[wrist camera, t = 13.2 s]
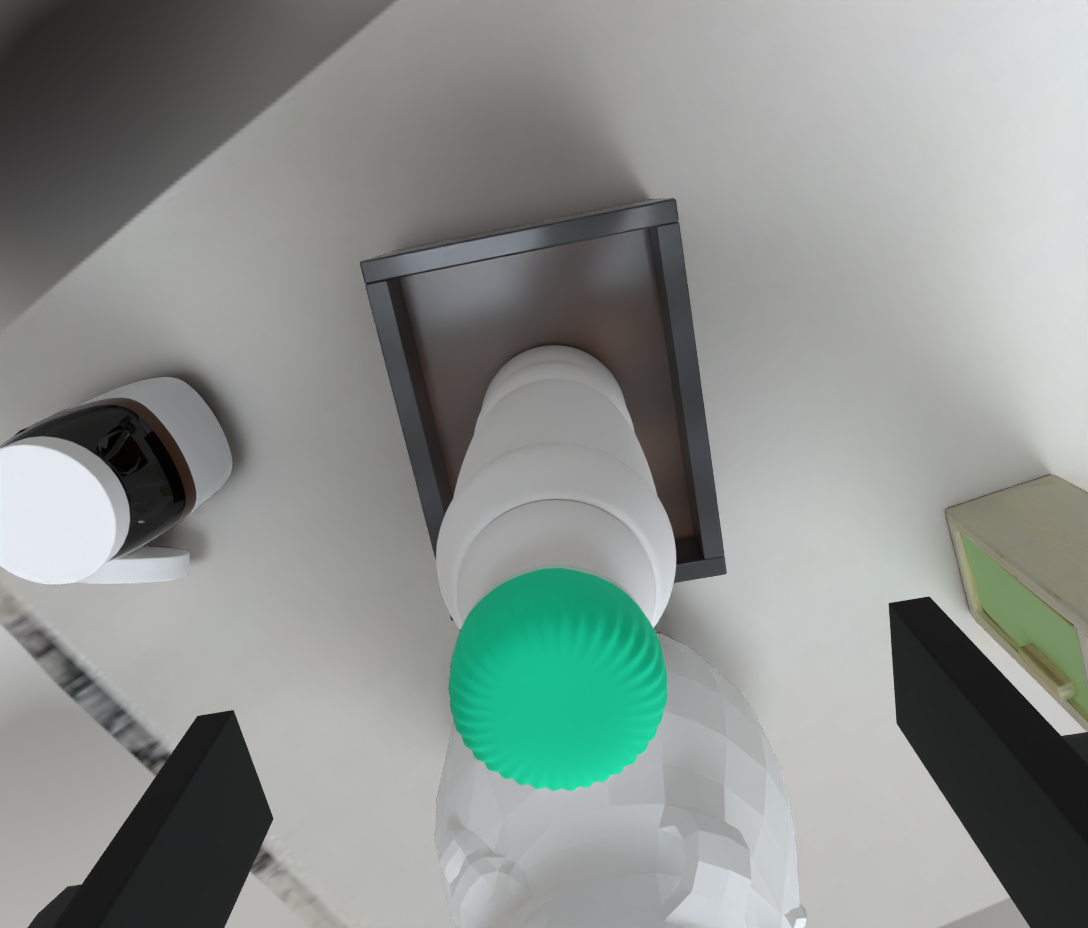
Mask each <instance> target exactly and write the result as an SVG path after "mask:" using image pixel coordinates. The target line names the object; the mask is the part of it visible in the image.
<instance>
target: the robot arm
mask: <svg viewBox="0 0 1088 928" xmlns="http://www.w3.org/2000/svg"><path fill="white" fill-rule="evenodd" d="M889 614H890V630H891V645H892V660H893V675H894V690H895V705H896V720H897V725H898V726H899V728H900V729H901V731H902V732H903V734H904V735H905V737H906V738H907V740H908V741H909V743H910V744H911V746H912V748H913V749H914V751H915V752H916V754H917V755H918V757H919V758H920V760H921V761H922V763H923V764H924V766H925V767H926V769H927V770H928V772H929V774H930V775H931V777H932V778H933V780H934V781H935V783H936V784H937V786H938V787H939V789H940V790H941V792H942V793H943V795H944V796H945V798H946V800H947V801H948V803H949V804H950V806H951V807H952V809H953V810H954V812H955V813H956V815H957V816H958V818H959V819H960V821H961V822H962V824H963V825H964V827H965V829H966V830H967V832H968V833H969V835H970V836H971V838H972V839H973V841H974V842H975V844H976V845H977V847H978V848H979V850H980V851H981V853H982V855H983V856H984V858H985V859H986V861H987V862H988V864H989V865H990V867H991V868H992V870H993V871H994V873H995V874H996V876H997V877H998V879H999V881H1000V882H1001V884H1002V885H1003V887H1004V888H1005V890H1006V891H1007V893H1008V894H1009V896H1010V897H1011V899H1012V900H1013V902H1014V903H1015V905H1016V907H1017V908H1018V910H1019V911H1020V912H1021V914H1022V916H1023V917H1024V919H1025V920H1026V922H1027V923H1028V925H1029V926H1030V928H1088V732H1085V733H1078V734H1072V735H1065V736H1061V735H1060V734H1059V733H1058V732H1057V731H1056V730H1055V729H1054V728H1053V727H1052V726H1051V725H1050V724H1049V723H1048V722H1047V721H1046V720H1045V718H1044V717H1043V716H1042V715H1041V714H1040V713H1039V712H1038V711H1037V710H1036V709H1035V708H1034V707H1033V706H1032V705H1031V704H1030V703H1029V702H1028V700H1027V699H1026V698H1025V697H1024V696H1023V695H1022V694H1021V693H1020V692H1019V691H1018V690H1017V689H1016V688H1015V687H1014V686H1013V685H1012V684H1011V682H1010V681H1009V680H1008V679H1007V678H1006V677H1005V676H1004V675H1003V674H1002V673H1001V672H1000V671H999V670H998V669H997V668H996V667H995V666H994V664H993V663H992V662H991V661H990V660H989V659H988V658H987V657H986V656H985V655H984V654H983V653H982V652H981V651H980V650H979V649H978V648H977V646H976V645H975V644H974V643H973V642H972V641H971V640H970V639H969V638H968V637H967V636H966V635H965V634H964V633H963V632H962V631H961V630H960V628H959V627H958V626H957V625H956V624H955V623H954V622H953V621H952V620H951V619H950V618H949V617H948V616H947V615H946V614H945V613H944V612H943V610H942V609H941V608H940V607H939V606H938V605H937V604H936V603H935V602H934V601H933V600H932V599H931V598H930V597H924V598H918V599H912V600H906V601H900V602H893V603H889ZM272 821H273V816H272V813H271V811H270V808H269V805H268V803H267V800H266V797H265V794H264V792H263V789H262V786H261V784H260V781H259V778H258V775H257V773H256V770H255V767H254V765H253V762H252V759H251V756H250V754H249V751H248V748H247V746H246V743H245V740H244V737H243V735H242V732H241V729H240V727H239V724H238V721H237V718H236V716H235V713H234V710H231V711H225V712H219V713H213V714H207V715H201V716H197V718H196V719H195V720H194V722H193V723H192V725H191V726H190V728H189V729H188V731H187V732H186V734H185V735H184V736H183V738H182V739H181V741H180V742H179V744H178V745H177V747H176V748H175V750H174V751H173V752H172V754H171V755H170V757H169V758H168V760H167V761H166V763H165V764H164V766H163V767H162V768H161V770H160V771H159V773H158V774H157V776H156V777H155V779H154V780H153V782H152V783H151V785H150V786H149V787H148V789H147V790H146V792H145V793H144V795H143V796H142V798H141V799H140V801H139V802H138V804H137V805H136V806H135V808H134V809H133V811H132V812H131V814H130V815H129V817H128V818H127V820H126V821H125V822H124V824H123V825H122V827H121V828H120V830H119V831H118V833H117V834H116V836H115V837H114V838H113V840H112V841H111V843H110V844H109V846H108V847H107V849H106V850H105V851H104V853H103V855H102V856H101V857H100V859H99V861H98V862H97V863H96V865H95V866H94V868H93V869H92V870H91V872H90V873H89V875H88V876H87V878H86V879H85V881H84V882H83V884H82V885H76V886H69V887H67V888H66V889H65V890H63V891H62V892H61V893H60V894H59V895H58V896H57V897H56V898H55V899H54V900H52V901H51V902H50V903H49V904H48V905H47V906H46V907H45V908H44V909H43V910H42V911H40V912H39V913H38V914H37V916H36V917H35V918H34V920H33V921H32V922H31V924H30V925H29V927H28V928H224V927H225V925H226V923H227V920H228V918H229V916H230V914H231V911H232V909H233V907H234V905H235V903H236V901H237V898H238V896H239V894H240V892H241V889H242V887H243V885H244V883H245V881H246V878H247V876H248V874H249V872H250V869H251V867H252V865H253V863H254V861H255V858H256V856H257V854H258V852H259V849H260V847H261V845H262V843H263V841H264V838H265V836H266V834H267V832H268V830H269V827H270V825H271V823H272Z"/></svg>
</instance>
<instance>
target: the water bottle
mask: <svg viewBox="0 0 1088 928" xmlns="http://www.w3.org/2000/svg"><path fill="white" fill-rule="evenodd" d="M436 570H437V578H438V583H439V587H440V591H441V594H442V597H443V600H444V603H445V605H446V607H447V609H448V611H449V613H450V615H451V617H452V619H453V620H454V622H455V623H456V625H457V626H458V628H459V629H460V630H461V631H460V634H459V636H458V639H457V642H456V645H455V649H454V652H453V657H452V661H451V670H450V679H449V694H450V698H451V702H450V706H451V712H452V715H453V717H454V723H455V728H456V730H457V732H458V733H459V734H460V735H461V736H462V740H463V744H464V745H465V746H466V747H467V748H469V749H471V750H472V752H473V756H474V757H475V758H476V759H477V760H479V761H482V762H484V763H485V765H486V768H487V769H489V770H490V771H495V772H499V773H500V775H501V776H502V777H503V778H504V779H513V780H515V782H516V783H517V784H519V785H530V786H532V787H533V788H535V789H537V790H538V789H541V788H548V789H549V790H551V791H557V790H559V789H565V790H568V791H574V790H575V789H577V788H578V787H587V788H589V787H590V786H592V785H593V784H594V783H595V782H605V781H606V780H608V778H609V777H610V776H611V775H617V774H620V773H621V772H622V771H623V769H624V767H625V766H628V765H632V764H633V763H634V762H635V761H636V759H637V756H638V755H640V754H642V753H643V752H645V751H646V750H647V747H648V743H649V741H651V740H652V739H653V738H654V737H655V736H656V732H657V727H658V726H659V724H660V723H661V721H662V718H663V712H664V708H665V707H666V703H667V697H668V696H667V681H668V679H667V670H666V665H665V661H664V656H663V651H662V647H661V644H660V642H659V639H658V636H657V634H656V632H655V630H654V627H655V625H656V624H657V622H658V621H659V619H660V617H661V616H662V614H663V612H664V610H665V608H666V606H667V603H668V601H669V598H670V595H671V592H672V588H673V584H674V579H675V572H676V547H675V540H674V535H673V531H672V527H671V524H670V521H669V518H668V516H667V513H666V511H665V509H664V507H663V505H662V503H661V501H660V500H659V498H658V497H657V493H656V489H655V485H654V482H653V478H652V475H651V472H650V469H649V466H648V463H647V460H646V458H645V455H644V453H643V450H642V448H641V445H640V443H639V441H638V439H637V437H636V435H635V432H634V427H633V423H632V420H631V417H630V414H629V412H628V410H627V408H626V404H625V400H624V397H623V394H622V391H621V389H620V387H619V384H618V383H617V381H616V379H615V378H614V376H613V375H612V373H611V372H610V371H609V370H608V369H607V368H606V367H605V366H604V365H603V364H602V363H601V362H600V361H599V360H597V359H596V358H595V357H593V356H591V355H590V354H588V353H586V352H584V351H581V350H579V349H575V348H572V347H568V346H560V345H549V346H541V347H536V348H532V349H529V350H527V351H525V352H522V353H520V354H518V355H517V356H515V357H514V358H512V359H511V360H509V361H508V362H507V363H506V364H505V365H504V366H503V367H502V368H501V369H500V370H499V371H498V372H497V374H496V375H495V376H494V378H493V379H492V381H491V383H490V385H489V387H488V389H487V391H486V394H485V397H484V401H483V404H482V409H481V412H480V414H479V417H478V419H477V423H476V427H475V432H474V436H473V438H472V441H471V443H470V445H469V448H468V450H467V453H466V455H465V458H464V461H463V464H462V467H461V470H460V473H459V476H458V480H457V484H456V488H455V492H454V497H453V500H452V502H451V503H450V505H449V507H448V509H447V511H446V513H445V516H444V519H443V521H442V524H441V527H440V531H439V536H438V541H437V548H436Z"/></svg>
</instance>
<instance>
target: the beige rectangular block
mask: <svg viewBox="0 0 1088 928" xmlns="http://www.w3.org/2000/svg"><path fill="white" fill-rule="evenodd" d="M946 516H947V521H948V525H949V529H950V533H951V537H952V541H953V545H954V549H955V553H956V557H957V561H958V565H959V569H960V573H961V577H962V581H963V585H964V589H965V593H966V596H967V601H968V605H969V609H970V612H971V615H972V617H973V618H974V620H975V621H976V622H977V623H978V624H979V625H980V626H981V627H982V628H983V629H984V630H985V631H986V632H987V633H988V634H989V635H990V636H991V637H992V638H993V639H994V640H995V641H996V642H997V643H998V644H999V645H1000V646H1001V647H1002V648H1004V649H1005V650H1006V651H1007V652H1008V653H1009V654H1010V655H1011V656H1012V657H1013V658H1014V659H1015V660H1016V661H1017V662H1018V663H1019V664H1020V665H1021V666H1022V667H1023V668H1024V669H1025V670H1026V671H1027V672H1028V673H1029V674H1030V675H1031V676H1032V677H1033V678H1034V679H1035V680H1036V681H1037V682H1038V683H1039V684H1040V685H1041V686H1042V687H1043V688H1044V689H1045V690H1046V691H1047V692H1048V693H1049V694H1050V695H1051V696H1052V697H1053V698H1054V699H1055V700H1056V701H1057V702H1058V703H1059V704H1060V705H1061V706H1062V707H1063V708H1064V709H1065V710H1066V711H1067V712H1068V713H1069V714H1070V715H1071V716H1072V717H1073V718H1074V719H1075V720H1076V721H1077V722H1078V723H1079V724H1080V725H1081V726H1082V727H1083V728H1084V729H1085V730H1086V731H1087V732H1088V492H1086V491H1084V490H1082V489H1081V488H1079V487H1077V486H1075V485H1073V484H1071V483H1069V482H1068V481H1066V480H1064V479H1062V478H1060V477H1058V476H1054V475H1049V476H1045V477H1042V478H1039V479H1035V480H1032V481H1029V482H1026V483H1023V484H1020V485H1017V486H1014V487H1011V488H1008V489H1005V490H1001V491H999V492H996V493H993V494H990V495H986V496H984V497H981V498H978V499H975V500H972V501H969V502H966V503H963V504H960V505H957V506H954V507H951V508H948V509H947V510H946Z"/></svg>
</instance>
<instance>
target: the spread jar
mask: <svg viewBox="0 0 1088 928" xmlns="http://www.w3.org/2000/svg"><path fill="white" fill-rule="evenodd" d="M231 471H232V456H231V452H230V448H229V445H228V442H227V440H226V437H225V434H224V432H223V430H222V428H221V426H220V424H219V422H218V420H217V418H216V417H215V415H214V413H213V412H212V410H211V409H210V408H209V406H208V405H207V404H206V402H205V401H204V400H203V399H202V398H201V397H200V395H199V394H198V393H197V392H196V391H195V390H194V389H193V388H192V387H191V386H189V385H188V384H186V383H185V382H184V381H181V380H179V379H177V378H172V377H158V378H151V379H146V380H142V381H138V382H135V383H131V384H128V385H125V386H122V387H119V388H116V389H114V390H111V391H109V392H106V393H104V394H102V395H99V396H97V397H95V398H92V399H90V400H88V401H85V402H83V403H81V404H79V405H76V406H73V407H70V408H67V409H65V410H63V411H60V412H58V413H56V414H54V415H52V416H50V417H48V418H46V419H44V420H42V421H40V422H37V423H36V424H34V425H32V426H30V427H28V428H25V429H23V430H21V431H19V432H18V433H17V434H16V435H14V436H13V437H12V438H10V439H9V440H7V441H6V442H5V443H3V444H2V445H1V446H0V566H1V567H2V568H4V569H6V570H7V571H9V572H10V573H12V574H14V575H16V576H19V577H21V578H23V579H25V580H29V581H33V582H37V583H42V584H53V585H56V584H67V583H72V582H77V583H94V584H130V583H150V582H161V581H169V580H175V579H181V578H184V577H186V576H188V574H189V555H190V552H189V551H186V550H182V549H175V548H164V547H142V546H144V545H145V544H147V543H149V542H150V541H152V540H153V539H155V538H157V537H158V536H160V535H162V534H163V533H165V532H166V531H168V530H169V529H171V528H172V527H174V526H175V525H177V524H178V523H179V522H181V521H182V520H183V519H185V518H186V517H188V516H189V515H190V514H191V513H192V512H194V511H195V510H196V509H197V508H198V507H199V506H201V505H202V504H203V503H204V502H205V501H206V500H208V499H209V498H210V497H211V496H212V495H213V494H215V493H216V492H217V491H218V490H219V489H220V488H221V487H222V486H223V485H224V484H225V483H226V481H227V480H228V478H229V477H230V474H231Z"/></svg>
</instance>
